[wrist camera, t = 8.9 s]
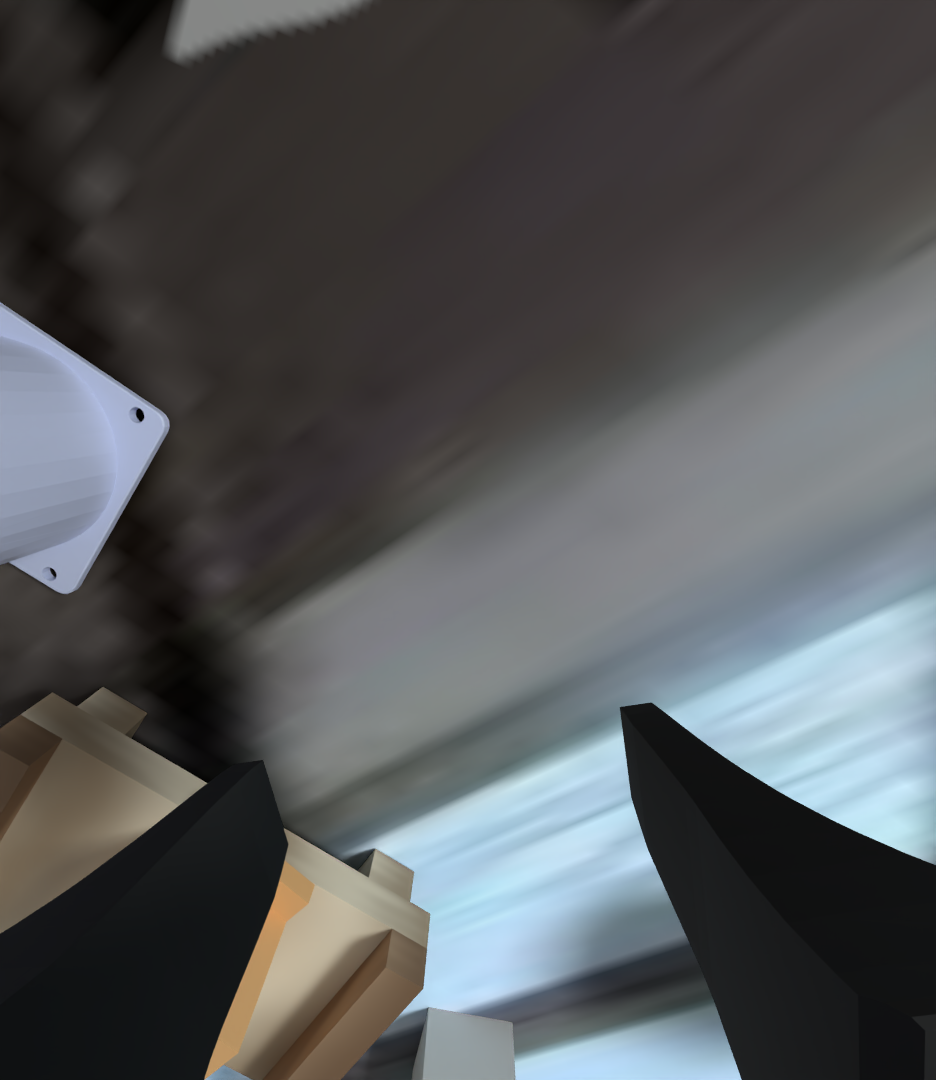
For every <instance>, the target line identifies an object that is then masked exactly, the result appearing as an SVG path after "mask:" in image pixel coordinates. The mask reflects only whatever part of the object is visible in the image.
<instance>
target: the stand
mask: <svg viewBox="0 0 936 1080" xmlns="http://www.w3.org/2000/svg"><path fill="white" fill-rule="evenodd" d="M146 715H147V713H146V712H145V711H143V710H141V709H140V708H138V707H136V706H135V705H133V704H131V703H129V702H128V701H126V700H124V699H123V698H121V697H119V696H118V695H116V694H114V693H113V692H111V691H109V690H108V689H106V688H104V687H102V688H101V689H99V690H98V691H97V692H95V693H94V694H93V695H91V696H90V697H89V698H88V699H86V700H85V701H84V702H82V703H81V704H80V705H78V706H75V705H73V704H71V703H70V702H68V701H66V700H65V699H63V698H61V697H59V696H58V695H56V694H54V693H53V692H52V693H51V694H49V695H48V696H47V697H45V698H44V699H42V700H41V701H39V702H38V703H36V704H35V705H33V706H32V707H31V708H29V709H28V710H26V711H25V712H23V713H22V714H20V715H19V716H18V717H16V718H15V719H13V720H12V721H10V722H9V723H7V724H6V725H4V726H3V727H2V728H0V933H2V932H4V931H5V930H7V929H8V928H10V927H12V926H13V925H15V924H16V923H18V922H19V921H21V920H22V919H24V918H26V917H27V916H29V915H30V914H32V913H33V912H35V911H36V910H38V909H39V908H41V907H42V906H44V905H45V904H47V903H49V902H50V901H52V900H53V899H55V898H56V897H57V896H59V895H60V894H62V893H63V892H65V891H66V890H68V889H69V888H71V887H72V886H73V885H75V884H76V883H78V882H79V881H81V880H82V879H83V878H85V877H86V876H87V875H89V874H90V873H92V872H93V871H94V870H96V869H97V868H98V867H100V866H101V865H102V864H104V863H105V862H106V861H108V860H109V859H110V858H112V857H113V856H114V855H116V854H117V853H118V852H120V851H121V850H122V849H124V848H125V847H126V846H128V845H129V844H130V843H132V842H133V841H134V840H136V839H137V838H138V837H140V836H141V835H142V834H144V833H145V832H146V831H147V830H149V829H150V828H151V827H152V826H154V825H155V824H156V823H157V822H159V821H160V820H161V819H163V818H164V817H165V816H166V815H168V814H169V813H170V812H171V811H173V810H174V809H175V808H176V807H178V806H179V805H180V804H182V803H183V802H184V801H185V800H187V799H188V798H189V797H190V796H192V795H193V794H194V793H195V792H197V791H198V790H199V789H201V788H202V787H203V786H204V785H206V784H207V783H206V782H204V781H203V780H201V779H199V778H198V777H196V776H194V775H193V774H191V773H189V772H187V771H186V770H184V769H182V768H181V767H179V766H177V765H175V764H174V763H172V762H170V761H169V760H167V759H165V758H164V757H162V756H160V755H158V754H157V753H155V752H153V751H152V750H150V749H148V748H146V747H145V746H143V745H141V744H140V743H138V742H136V741H135V740H133V739H131V738H132V737H133V735H134V733H135V732H136V730H137V729H138V727H139V726H140V724H141V722H142V721H143V719H144V718H145V716H146ZM284 831H285V834H286V837H287V841H288V844H289V845H288V849H287V853H286V857H285V861H286V862H287V863H289V864H290V865H291V866H292V867H294V868H295V869H296V870H297V871H298V872H300V873H301V874H302V875H303V876H305V877H306V878H307V879H308V880H309V881H311V882H312V883H313V884H314V885H315V886H314V889H313V892H312V895H311V898H310V901H309V904H308V905H306V906H305V907H304V908H303V909H302V910H300V911H299V912H298V913H297V914H295V915H294V916H293V917H292V918H291V919H289V920H288V921H287V922H286V924H285V927H284V930H283V933H282V935H281V938H280V941H279V944H278V946H277V949H276V952H275V954H274V957H273V960H272V963H271V965H270V968H269V971H268V974H267V976H266V979H265V982H264V984H263V987H262V990H261V993H260V995H259V998H258V1001H257V1004H256V1006H255V1009H254V1012H253V1014H252V1017H251V1020H250V1023H249V1025H248V1028H247V1031H246V1034H245V1036H244V1039H243V1042H242V1044H241V1047H240V1050H239V1053H238V1054H237V1055H235V1056H234V1057H233V1058H231V1059H230V1060H229V1061H228V1062H226V1063H225V1064H224V1065H225V1066H227V1067H229V1068H231V1069H233V1070H235V1071H237V1072H239V1073H241V1074H243V1075H245V1076H247V1077H249V1078H250V1079H252V1080H341V1078H342V1077H343V1076H344V1075H345V1074H346V1073H347V1072H348V1071H349V1070H350V1069H351V1067H352V1066H353V1065H354V1064H355V1063H356V1062H357V1061H358V1060H359V1059H360V1058H361V1056H362V1055H363V1054H364V1053H365V1052H366V1051H367V1050H368V1049H369V1048H370V1046H371V1045H372V1044H373V1043H374V1042H375V1041H376V1040H377V1039H378V1038H379V1037H380V1035H381V1034H382V1033H383V1032H384V1031H385V1030H386V1029H387V1028H388V1027H389V1026H390V1024H391V1023H392V1022H393V1021H394V1020H395V1019H396V1018H397V1017H398V1016H399V1015H400V1013H401V1012H402V1011H403V1010H404V1009H405V1008H406V1007H407V1006H408V1005H409V1004H410V1002H411V1001H412V1000H413V999H414V998H415V997H416V996H417V995H418V994H419V993H420V991H421V990H422V989H423V986H424V975H425V964H426V953H427V943H428V932H429V921H430V913H428V912H426V911H425V910H423V909H421V908H419V907H418V906H416V905H414V904H413V903H411V902H410V898H411V891H412V883H413V876H414V871H412V870H410V869H409V868H407V867H405V866H403V865H402V864H400V863H398V862H397V861H395V860H393V859H392V858H390V857H388V856H387V855H385V854H383V853H382V852H380V851H378V850H377V849H375V850H374V851H373V852H372V854H371V855H370V856H369V857H368V859H367V860H366V861H365V862H364V864H363V865H362V866H361V867H360V868H359V870H358V871H356V870H355V869H353V868H351V867H350V866H348V865H346V864H344V863H343V862H341V861H339V860H338V859H336V858H334V857H332V856H331V855H329V854H327V853H326V852H324V851H322V850H321V849H319V848H317V847H315V846H314V845H312V844H310V843H309V842H307V841H305V840H303V839H302V838H300V837H298V836H297V835H295V834H293V833H292V832H290V831H288V830H286V829H285V828H284Z"/></svg>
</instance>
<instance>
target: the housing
mask: <svg viewBox="0 0 936 1080" xmlns="http://www.w3.org/2000/svg"><path fill="white" fill-rule="evenodd" d="M314 886H315V885H314V884H313V883H312V882H311V881H309V880H308V879H307V878H306V877H305V876H303V875H302V874H301V873H300V872H298V871H297V870H296V869H295V868H294V867H292V866H291V865H290V864H289V863H287V862H286V861H284V865H283V869H282V873H281V877H280V880H279V884H278V887H277V891H276V895H275V898H274V900H273V903H272V906H271V908H270V911H269V913H268V916H267V919H266V921H265V924H264V926H263V929H262V931H261V934H260V936H259V939H258V941H257V944H256V946H255V949H254V951H253V953H252V956H251V958H250V961H249V963H248V966H247V968H246V971H245V973H244V975H243V978H242V980H241V983H240V985H239V988H238V990H237V993H236V995H235V998H234V1000H233V1002H232V1005H231V1007H230V1010H229V1012H228V1015H227V1017H226V1020H225V1022H224V1025H223V1027H222V1030H221V1032H220V1035H219V1038H218V1041H217V1043H216V1046H215V1049H214V1051H213V1054H212V1057H211V1060H210V1063H209V1066H208V1069H207V1072H206V1075H205V1079H206V1078H207V1077H208V1076H210V1075H211V1074H212V1073H213V1072H215V1071H216V1070H217V1069H219V1068H220V1067H221V1066H222V1065H224V1064H225V1063H226V1062H228V1061H229V1060H230V1059H231V1058H233V1057H234V1056H235V1055H237V1054H238V1053H239V1050H240V1047H241V1044H242V1042H243V1039H244V1036H245V1034H246V1031H247V1028H248V1025H249V1023H250V1020H251V1017H252V1014H253V1012H254V1009H255V1006H256V1004H257V1001H258V998H259V995H260V993H261V990H262V987H263V984H264V982H265V979H266V976H267V974H268V971H269V968H270V965H271V963H272V960H273V957H274V954H275V952H276V949H277V946H278V944H279V941H280V938H281V935H282V933H283V930H284V927H285V924H286V922H287V921H288V920H289V919H291V918H292V917H293V916H294V915H295V914H297V913H298V912H299V911H300V910H302V909H303V908H304V907H305V906H306V905H308V904H309V901H310V898H311V895H312V892H313V889H314Z"/></svg>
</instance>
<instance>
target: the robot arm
mask: <svg viewBox="0 0 936 1080" xmlns="http://www.w3.org/2000/svg"><path fill="white" fill-rule="evenodd" d="M138 408H140V409H141V410H142V411H143V412H144V420H143V421H142V422H140V421H139V420H138V419H137V417H136V410H137V409H138ZM169 427H170V425H169V420H168V418H167V416H166V415H165V414H164V413H163V412H162V411H161V410H159V409H158V408H156V407H155V406H153V405H152V404H150V403H149V402H147V401H146V400H144V399H143V398H141V397H140V396H138V395H137V394H135V393H134V392H132V391H131V390H130V389H128V388H127V387H125V386H124V385H122V384H121V383H119V382H118V381H116V380H115V379H113V378H112V377H110V376H109V375H107V374H106V373H104V372H103V371H101V370H100V369H98V368H97V367H95V366H94V365H92V364H91V363H89V362H88V361H87V360H85V359H84V358H82V357H81V356H79V355H78V354H76V353H75V352H73V351H72V350H70V349H69V348H67V347H66V346H64V345H63V344H61V343H60V342H58V341H57V340H55V339H54V338H52V337H51V336H49V335H48V334H47V333H45V332H44V331H42V330H41V329H39V328H38V327H36V326H35V325H33V324H32V323H30V322H29V321H27V320H26V319H24V318H23V317H21V316H20V315H18V314H17V313H15V312H14V311H12V310H11V309H9V308H8V307H6V306H5V305H4V304H2V303H1V302H0V565H1V564H4V563H7V562H9V563H11V564H12V565H14V566H16V567H17V568H19V569H21V570H22V571H24V572H26V573H27V574H29V575H30V576H32V577H34V578H35V579H37V580H39V581H40V582H42V583H44V584H45V585H47V586H48V587H50V588H52V589H53V590H55V591H57V592H59V593H61V594H68V593H71V592H73V591H75V590H77V589H78V588H79V587H80V586H81V584H82V583H83V581H84V579H85V577H86V575H87V574H88V572H89V570H90V568H91V567H92V565H93V563H94V561H95V560H96V558H97V556H98V554H99V553H100V551H101V549H102V547H103V546H104V544H105V542H106V540H107V538H108V537H109V535H110V533H111V531H112V530H113V528H114V526H115V524H116V523H117V521H118V519H119V517H120V516H121V514H122V512H123V510H124V509H125V507H126V505H127V503H128V501H129V500H130V498H131V496H132V494H133V493H134V491H135V489H136V487H137V486H138V484H139V482H140V480H141V479H142V477H143V475H144V473H145V472H146V470H147V468H148V466H149V465H150V463H151V461H152V459H153V457H154V456H155V454H156V452H157V450H158V449H159V447H160V445H161V443H162V442H163V440H164V438H165V436H166V435H167V433H168V430H169ZM50 568H53V569H54V570H55V572H56V574H57V576H56V577H54V576H53V575H52V574H51V571H50ZM620 712H621V720H622V728H623V736H624V743H625V751H626V759H627V767H628V775H629V783H630V790H631V798H632V801H633V804H634V807H635V810H636V814H637V817H638V820H639V823H640V826H641V829H642V833H643V836H644V839H645V842H646V845H647V848H648V850H649V853H650V855H651V857H652V859H653V862H654V864H655V866H656V869H657V871H658V873H659V875H660V878H661V880H662V882H663V884H664V887H665V889H666V891H667V893H668V896H669V898H670V900H671V902H672V905H673V907H674V909H675V911H676V914H677V916H678V918H679V920H680V923H681V925H682V927H683V929H684V932H685V934H686V936H687V938H688V941H689V943H690V945H691V947H692V949H693V952H694V954H695V956H696V958H697V961H698V963H699V965H700V967H701V970H702V972H703V974H704V977H705V979H706V982H707V984H708V987H709V989H710V992H711V994H712V997H713V999H714V1002H715V1005H716V1007H717V1010H718V1013H719V1016H720V1019H721V1022H722V1025H723V1027H724V1030H725V1033H726V1036H727V1039H728V1042H729V1045H730V1047H731V1050H732V1053H733V1056H734V1059H735V1062H736V1064H737V1067H738V1070H739V1073H740V1076H741V1079H742V1080H936V865H933V864H931V863H928V862H926V861H923V860H921V859H918V858H916V857H913V856H911V855H908V854H906V853H903V852H901V851H899V850H896V849H894V848H892V847H890V846H887V845H885V844H883V843H880V842H878V841H876V840H874V839H871V838H869V837H867V836H865V835H862V834H860V833H858V832H856V831H853V830H851V829H849V828H847V827H845V826H843V825H841V824H839V823H837V822H835V821H833V820H831V819H829V818H827V817H825V816H823V815H821V814H819V813H817V812H815V811H813V810H811V809H810V808H808V807H806V806H804V805H802V804H800V803H798V802H796V801H794V800H792V799H791V798H789V797H787V796H785V795H784V794H782V793H780V792H778V791H777V790H775V789H773V788H772V787H770V786H768V785H767V784H765V783H764V782H762V781H760V780H759V779H757V778H755V777H754V776H752V775H751V774H749V773H747V772H746V771H744V770H743V769H741V768H740V767H738V766H737V765H735V764H734V763H732V762H731V761H729V760H728V759H726V758H725V757H723V756H722V755H721V754H719V753H718V752H716V751H715V750H714V749H712V748H711V747H709V746H708V745H707V744H705V743H704V742H702V741H701V740H700V739H698V738H697V737H696V736H694V735H693V734H692V733H691V732H689V731H688V730H687V729H685V728H684V727H683V726H681V725H680V724H679V723H678V722H676V721H675V720H674V719H672V718H671V717H670V716H669V715H667V714H666V713H665V712H663V711H662V710H661V709H659V708H658V707H657V706H655V705H654V704H653V703H645V704H638V705H631V706H625V707H620ZM288 845H289V844H288V841H287V837H286V834H285V831H284V828H283V824H282V821H281V818H280V814H279V811H278V808H277V805H276V801H275V798H274V795H273V791H272V788H271V785H270V782H269V778H268V775H267V772H266V768H265V765H264V762H263V760H260V761H253V762H247V763H240V764H234V765H232V766H231V767H229V768H228V769H226V770H225V771H223V772H222V773H220V774H219V775H218V776H216V777H215V778H214V779H212V780H211V781H210V782H208V783H207V784H206V785H204V786H203V787H202V788H201V789H199V790H198V791H197V792H195V793H194V794H193V795H192V796H190V797H189V798H188V799H187V800H185V801H184V802H183V803H182V804H180V805H179V806H178V807H176V808H175V809H174V810H173V811H171V812H170V813H169V814H168V815H166V816H165V817H164V818H163V819H161V820H160V821H159V822H157V823H156V824H155V825H154V826H152V827H151V828H150V829H149V830H147V831H146V832H145V833H144V834H142V835H141V836H140V837H138V838H137V839H136V840H134V841H133V842H132V843H130V844H129V845H128V846H126V847H125V848H124V849H122V850H121V851H120V852H118V853H117V854H116V855H114V856H113V857H112V858H110V859H109V860H108V861H106V862H105V863H104V864H102V865H101V866H100V867H98V868H97V869H96V870H94V871H93V872H92V873H90V874H89V875H87V876H86V877H85V878H83V879H82V880H81V881H79V882H78V883H76V884H75V885H73V886H72V887H71V888H69V889H68V890H66V891H65V892H63V893H62V894H60V895H59V896H57V897H56V898H55V899H53V900H52V901H50V902H49V903H47V904H45V905H44V906H42V907H41V908H39V909H38V910H36V911H35V912H33V913H32V914H30V915H29V916H27V917H26V918H24V919H22V920H21V921H19V922H18V923H16V924H15V925H13V926H12V927H10V928H8V929H7V930H5V931H4V932H2V933H0V1080H204V1079H205V1075H206V1072H207V1069H208V1066H209V1063H210V1060H211V1057H212V1054H213V1051H214V1049H215V1046H216V1043H217V1041H218V1038H219V1035H220V1032H221V1030H222V1027H223V1025H224V1022H225V1020H226V1017H227V1015H228V1012H229V1010H230V1007H231V1005H232V1002H233V1000H234V998H235V995H236V993H237V990H238V988H239V985H240V983H241V980H242V978H243V975H244V973H245V971H246V968H247V966H248V963H249V961H250V958H251V956H252V953H253V951H254V949H255V946H256V944H257V941H258V939H259V936H260V934H261V931H262V929H263V926H264V924H265V921H266V919H267V916H268V913H269V911H270V908H271V906H272V903H273V900H274V898H275V895H276V891H277V887H278V884H279V880H280V877H281V873H282V869H283V865H284V861H285V857H286V853H287V849H288Z"/></svg>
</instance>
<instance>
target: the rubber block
mask: <svg viewBox="0 0 936 1080" xmlns="http://www.w3.org/2000/svg"><path fill="white" fill-rule="evenodd" d="M412 1080H515V1061H514V1043H513V1024H512V1022H507V1021H502V1020H496V1019H491V1018H485V1017H480V1016H474V1015H469V1014H463V1013H458V1012H452V1011H447V1010H441V1009H436V1008H430V1007H429V1008H428V1012H427V1016H426V1020H425V1024H424V1028H423V1032H422V1036H421V1040H420V1043H419V1047H418V1051H417V1055H416V1059H415V1063H414V1067H413V1074H412Z"/></svg>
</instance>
